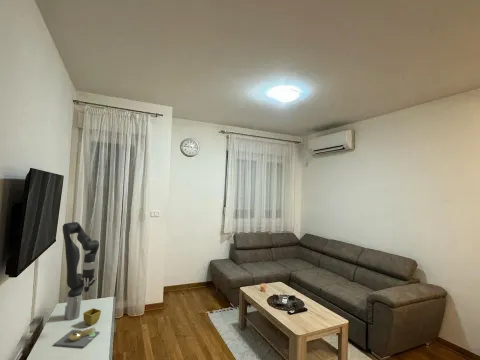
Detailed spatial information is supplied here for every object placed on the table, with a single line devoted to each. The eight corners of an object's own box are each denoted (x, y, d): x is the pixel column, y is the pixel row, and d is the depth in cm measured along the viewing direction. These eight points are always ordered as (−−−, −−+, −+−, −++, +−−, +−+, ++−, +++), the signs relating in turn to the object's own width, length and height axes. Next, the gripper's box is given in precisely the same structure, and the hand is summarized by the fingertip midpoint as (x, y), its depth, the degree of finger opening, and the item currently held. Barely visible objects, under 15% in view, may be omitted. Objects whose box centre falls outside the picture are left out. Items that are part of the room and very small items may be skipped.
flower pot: (100, 322, 188) (101, 310, 189) (90, 327, 180) (91, 315, 181) (92, 319, 191) (93, 308, 192) (81, 325, 183) (83, 312, 184)
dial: (69, 343, 159) (70, 337, 159) (67, 338, 164) (68, 332, 164) (95, 335, 169) (96, 329, 169) (92, 330, 174) (93, 324, 174)
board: (53, 345, 157) (53, 343, 157) (73, 330, 175) (73, 328, 175) (85, 348, 157) (85, 345, 157) (101, 332, 175) (101, 330, 175)
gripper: (76, 268, 177) (74, 292, 176) (94, 269, 177) (92, 294, 175) (83, 265, 184) (81, 289, 183) (100, 266, 184) (98, 290, 183)
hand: (86, 291), depth 179 cm, fingers closed
